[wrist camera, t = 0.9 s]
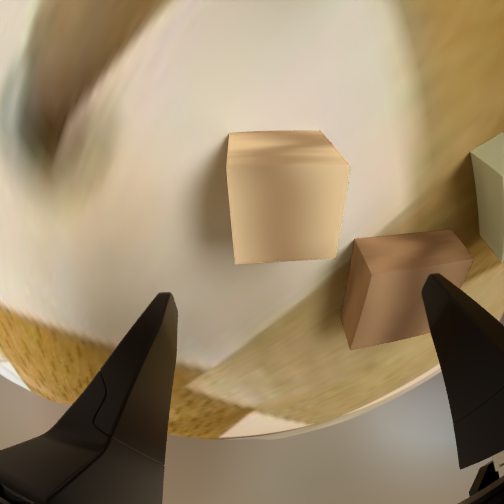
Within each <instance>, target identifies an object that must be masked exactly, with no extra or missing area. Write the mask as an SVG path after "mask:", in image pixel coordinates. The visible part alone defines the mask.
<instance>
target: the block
mask: <svg viewBox="0 0 504 504" xmlns="http://www.w3.org/2000/svg"><path fill="white" fill-rule="evenodd" d="M470 155H471V160H472V166H473V173H474V179H475V187H476V195H477V205H478V217H479V235H480V236H481V237H482V239H483V240H484V241H485V242H486V244H487V245H488V246H489V247H490V249H491V250H492V251H493V252H494V254H495V255H496V256H497V258H498V259H499V260H500V262H501V263H502V262H504V132H502V133H500V134H499V135H497V136H495V137H494V138H492V139H490V140H489V141H487V142H485V143H484V144H482V145H480V146H478V147H477V148H475V149H473V150H472V151H470Z"/></svg>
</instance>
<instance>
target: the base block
mask: <svg viewBox="0 0 504 504" xmlns="http://www.w3.org/2000/svg"><path fill="white" fill-rule="evenodd" d="M473 260H474V258H473V256H472V255H471V254H470V252H469V251H468V250H467V248H466V247H465V246H464V245H463V243H462V242H461V241H460V239H459V238H458V237H457V236H456V234H455V233H454V232H453V231H452V230H451V229H449V230H439V231H429V232H418V233H408V234H398V235H388V236H378V237H368V238H358V239H354V246H353V252H352V258H351V264H350V270H349V276H348V281H347V286H346V292H345V297H344V302H343V306H342V311H341V316H340V317H341V320H342V324H343V327H344V331H345V334H346V338H347V341H348V345H349V348H350V350H354V349H359V348H365V347H370V346H375V345H379V344H384V343H389V342H393V341H398V340H402V339H406V338H410V337H415V336H419V335H422V334H426V333H430V328H429V324H428V320H427V315H426V311H425V307H424V303H423V299H422V294H421V291H422V288H423V286H424V284H425V281H426V279H427V277H428V275H429V274H433V273H440V274H441V275H442V276H444V277H445V278H446V279H448V280H449V281H450V282H452V283H453V284H454V285H455V286H457V287H458V288H459V289H460V288H461V286H462V284H463V282H464V280H465V278H466V275H467V273H468V271H469V269H470V267H471V265H472V263H473Z"/></svg>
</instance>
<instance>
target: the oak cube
mask: <svg viewBox="0 0 504 504" xmlns="http://www.w3.org/2000/svg"><path fill="white" fill-rule="evenodd" d="M349 171H350V165H349V164H348V162H347V161H346V160H345V159H344V157H343V156H342V155H341V154H340V153H339V151H338V150H337V149H336V148H335V147H334V146H333V144H332V143H331V142H330V141H329V140H328V139H327V138H326V136H325V135H324V134H323V133H322V132H321V131H254V132H235V133H229V142H228V153H227V164H226V173H227V185H228V196H229V207H230V218H231V228H232V239H233V249H234V259H235V264H249V263H267V262H284V261H301V260H317V259H333V258H336V253H337V248H338V242H339V237H340V231H341V225H342V219H343V213H344V207H345V200H346V193H347V186H348V179H349Z"/></svg>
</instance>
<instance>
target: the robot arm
mask: <svg viewBox="0 0 504 504" xmlns="http://www.w3.org/2000/svg"><path fill="white" fill-rule="evenodd" d="M421 294H422V299H423V303H424V307H425V311H426V315H427V320H428V324H429V328H430V332H431V336H432V339H433V342H434V345H435V349H436V352H437V356H438V359H439V363H440V367H441V370H442V374H443V378H444V382H445V386H446V391H447V394H448V399H449V404H450V409H451V414H452V419H453V424H454V425H453V426H454V431H455V438H456V445H457V452H458V460H459V467H460V469H463V468H465V467H468V466H470V465H473V464H475V463H478V462H480V461H482V460H485V459H487V458H489V457H491V456H492V458H493V460H492V461H490V462H489V463H487V464H486V465H484V466H482V467H481V468H480V469H479V471H478V474H477V476H476V478H475V480H474V483H473V485H472V487H471V489H470V491H469V495H470V497H469V498H467V499H465V500H464V501H462V502H460V503H458V504H504V326H503V325H502V324H501V323H500V322H499V321H498V320H497V319H495V318H494V317H493V316H492V315H491V314H490V313H489V312H487V311H486V310H485V309H484V308H483V307H481V306H480V305H479V304H478V303H477V302H475V301H474V300H473V299H472V298H470V297H469V296H468V295H467V294H466V293H464V292H463V291H462V290H460V289H459V288H458V287H457V286H455V285H454V284H453V283H452V282H450V281H449V280H448V279H446V278H445V277H444V276H442V275H441V274H440V273H433V274H429V275H428V277H427V279H426V281H425V284H424V286H423V288H422V291H421ZM177 322H178V311H177V307H176V304H175V301H174V298H173V295H172V294H171V293H170V292H161V293H159V294H157V296H156V297H155V298H154V299H153V301H152V302H151V303H150V304H149V306H148V307H147V308H146V310H145V311H144V312H143V313H142V315H141V316H140V317H139V319H138V320H137V321H136V322H135V324H134V325H133V326H132V328H131V329H130V330H129V331H128V333H127V334H126V335H125V337H124V338H123V339H122V341H121V342H120V343H119V345H118V346H117V347H116V349H115V350H114V351H113V353H112V354H111V355H110V357H109V358H108V359H107V361H106V362H105V363H104V365H103V366H102V368H101V369H100V371H99V372H98V373H97V374H96V376H95V377H94V378H93V380H92V381H91V382H90V384H89V385H88V386H87V388H86V389H85V390H84V392H83V393H82V394H81V395H80V396H79V397H78V399H77V400H76V401H75V402H74V403H73V404H72V406H71V407H70V408H69V409H68V410H67V411H66V413H65V414H64V415H63V416H62V417H61V418H60V419H59V421H58V422H57V423H56V424H55V425H54V426H53V427H52V428H51V429H50V430H49V431H47V432H46V433H44V434H42V435H40V436H38V437H36V438H33V439H30V440H28V441H25V442H23V443H20V444H17V445H14V446H12V447H9V448H6V449H3V450H0V504H162V496H163V479H164V464H165V452H166V441H167V430H168V421H169V411H170V403H171V394H172V386H173V378H174V371H175V364H176V354H177Z"/></svg>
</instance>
